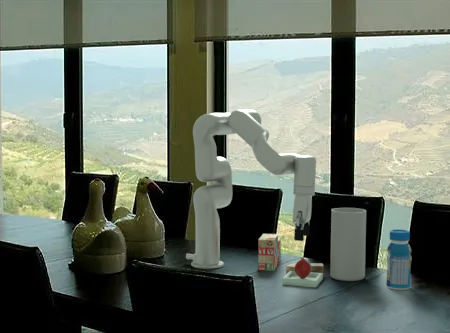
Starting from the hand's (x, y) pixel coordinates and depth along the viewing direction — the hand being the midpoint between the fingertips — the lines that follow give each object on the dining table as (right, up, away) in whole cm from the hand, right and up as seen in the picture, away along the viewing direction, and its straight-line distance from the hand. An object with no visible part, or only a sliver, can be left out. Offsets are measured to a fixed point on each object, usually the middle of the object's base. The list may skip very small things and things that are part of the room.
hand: (301, 238), depth 257 cm
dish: (0, -16, +1) cm, 16 cm away
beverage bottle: (+33, -17, -6) cm, 38 cm away
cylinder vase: (+18, -16, +8) cm, 25 cm away
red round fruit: (0, -15, +1) cm, 15 cm away
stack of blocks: (-10, -14, +29) cm, 34 cm away
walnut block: (+7, -15, +10) cm, 19 cm away
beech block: (-1, -15, +11) cm, 19 cm away
